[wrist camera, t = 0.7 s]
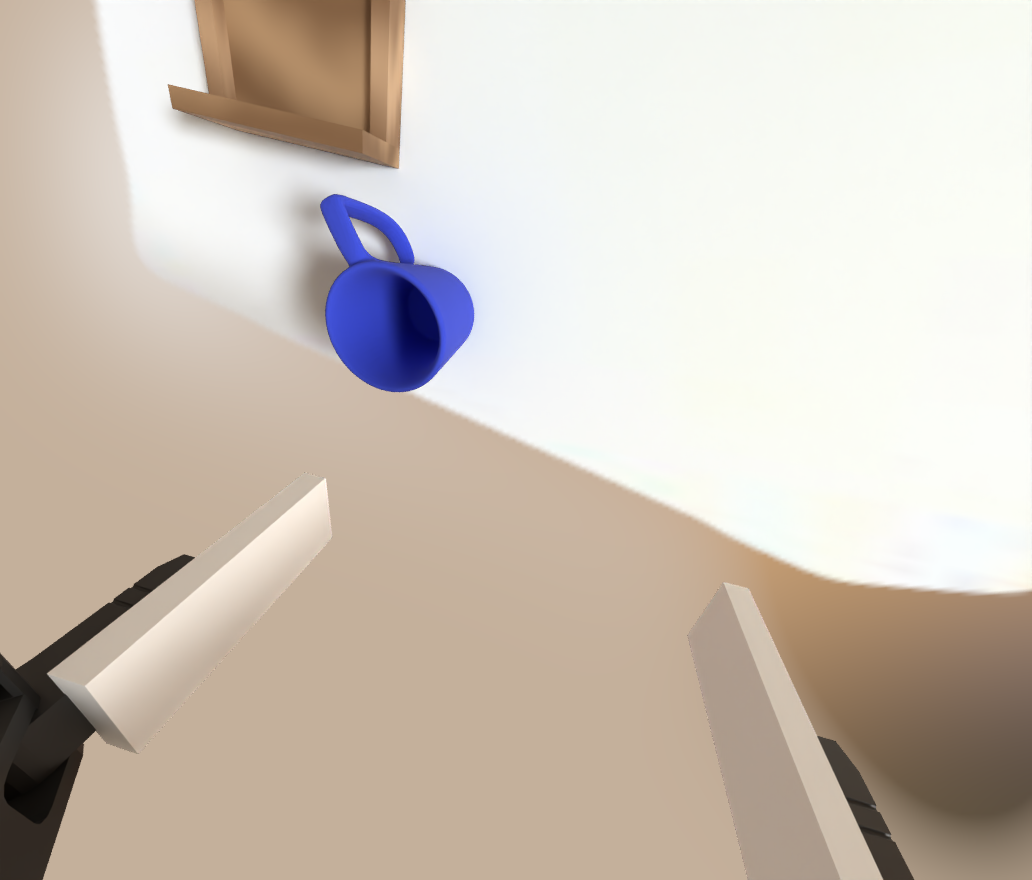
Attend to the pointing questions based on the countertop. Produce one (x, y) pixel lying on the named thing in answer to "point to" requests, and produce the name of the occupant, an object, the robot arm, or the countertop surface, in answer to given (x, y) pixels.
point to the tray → (304, 73)
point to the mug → (391, 305)
